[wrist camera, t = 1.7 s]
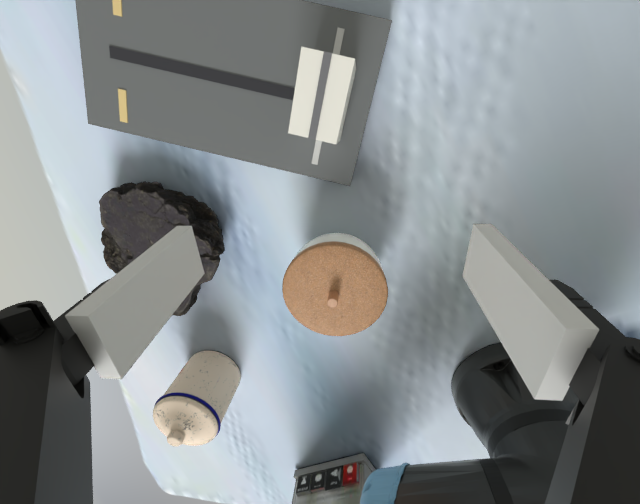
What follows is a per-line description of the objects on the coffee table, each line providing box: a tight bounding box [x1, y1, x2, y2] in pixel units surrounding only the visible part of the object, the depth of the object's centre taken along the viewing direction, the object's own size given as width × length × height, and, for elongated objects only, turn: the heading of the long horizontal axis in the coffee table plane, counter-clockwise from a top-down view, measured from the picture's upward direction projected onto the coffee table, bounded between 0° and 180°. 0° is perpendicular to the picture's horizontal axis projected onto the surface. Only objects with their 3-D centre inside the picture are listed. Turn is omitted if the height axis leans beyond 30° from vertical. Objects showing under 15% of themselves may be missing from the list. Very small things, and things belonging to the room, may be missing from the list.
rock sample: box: [99, 182, 225, 316], centre depth 37 cm, size 18×16×5 cm
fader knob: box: [288, 46, 356, 144], centre depth 25 cm, size 4×6×5 cm, turn 169°
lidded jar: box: [282, 233, 388, 336], centre depth 33 cm, size 11×11×9 cm
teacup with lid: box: [153, 351, 241, 446], centre depth 43 cm, size 12×9×12 cm
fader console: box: [76, 0, 392, 186], centre depth 30 cm, size 28×14×3 cm, turn 78°
